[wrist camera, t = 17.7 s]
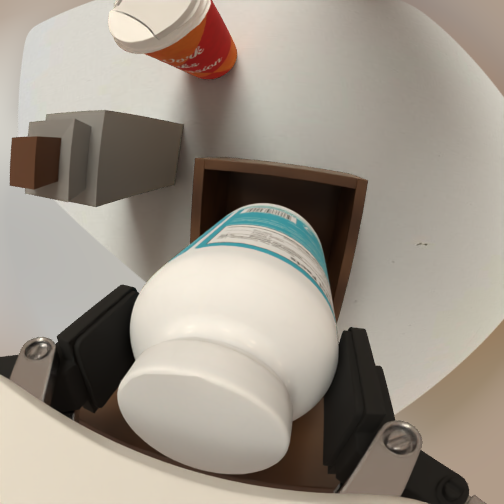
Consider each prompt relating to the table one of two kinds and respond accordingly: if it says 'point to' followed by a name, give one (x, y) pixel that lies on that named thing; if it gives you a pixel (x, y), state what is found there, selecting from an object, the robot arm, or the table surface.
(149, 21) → the paper cup
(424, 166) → the table surface
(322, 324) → the pill bottle
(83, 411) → the chest lid
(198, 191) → the chest
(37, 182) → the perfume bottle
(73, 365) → the robot arm
